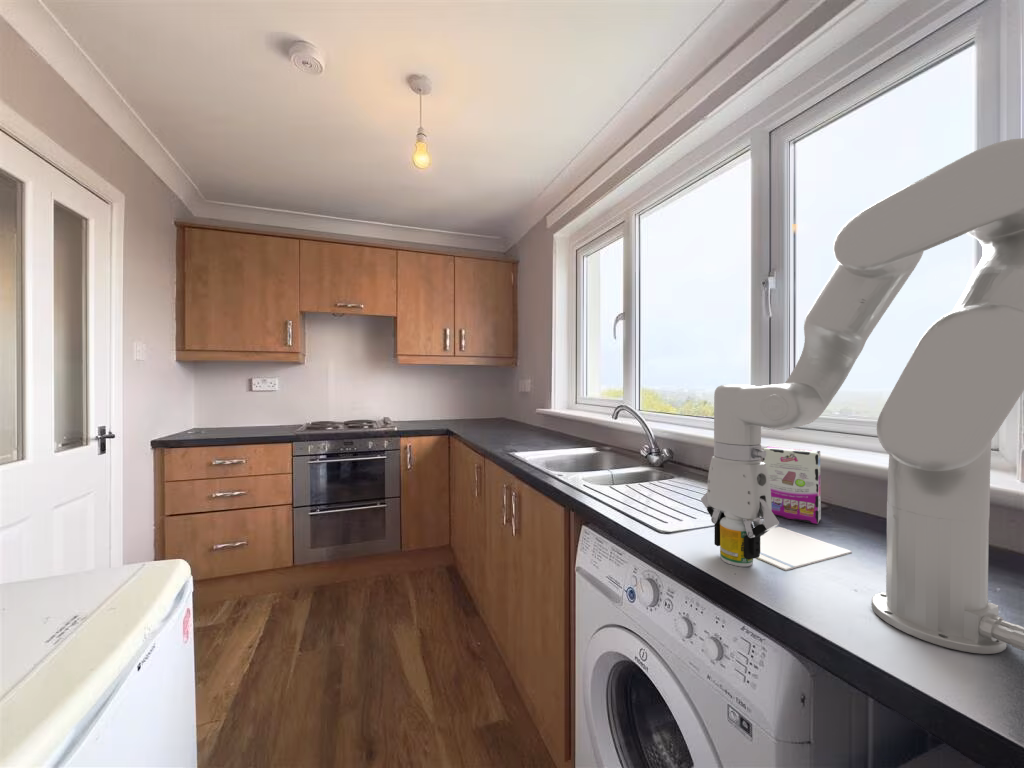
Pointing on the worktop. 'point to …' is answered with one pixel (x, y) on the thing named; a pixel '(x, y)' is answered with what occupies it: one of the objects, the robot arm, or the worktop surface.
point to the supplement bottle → (733, 540)
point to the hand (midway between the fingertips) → (736, 549)
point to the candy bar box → (794, 483)
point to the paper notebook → (795, 549)
